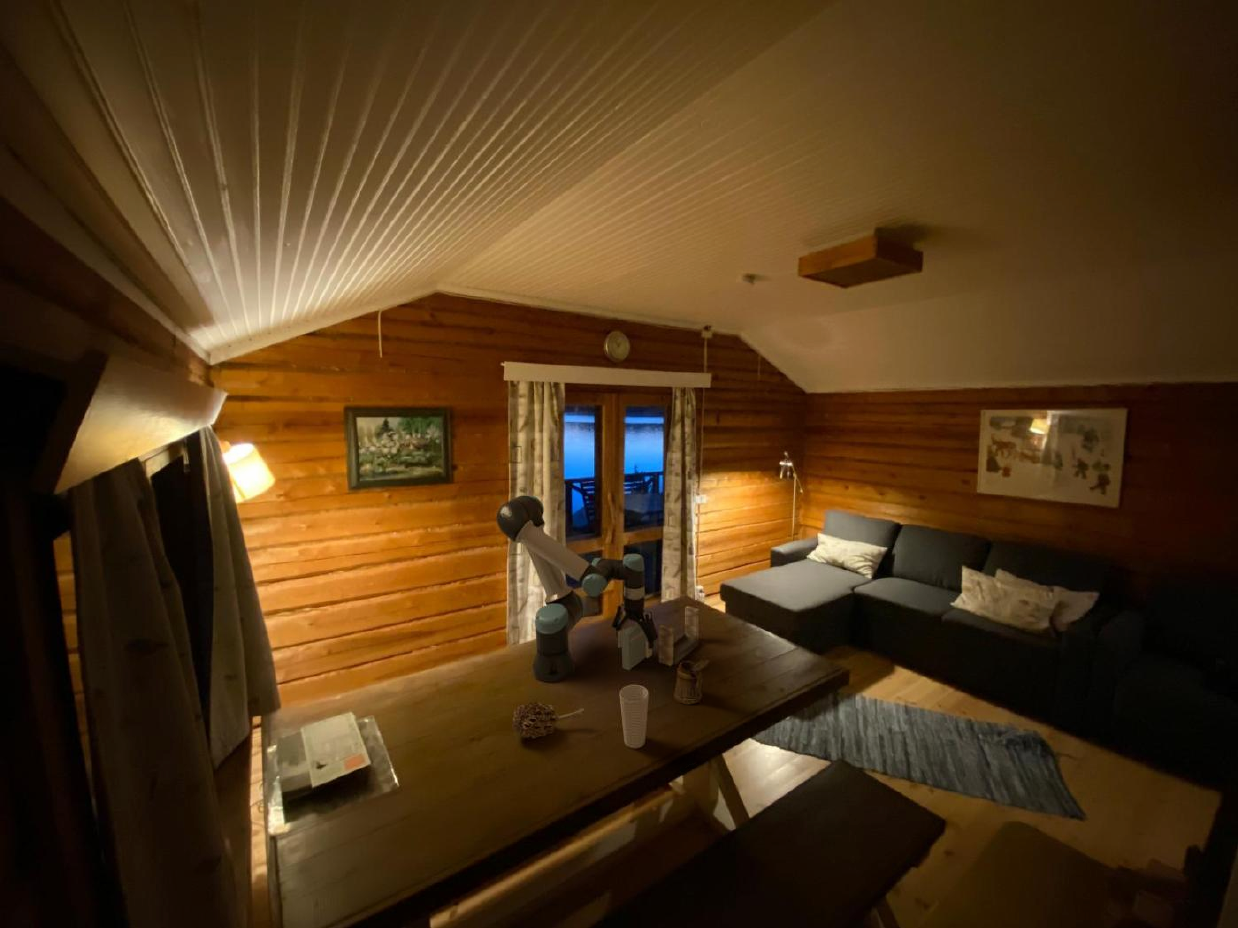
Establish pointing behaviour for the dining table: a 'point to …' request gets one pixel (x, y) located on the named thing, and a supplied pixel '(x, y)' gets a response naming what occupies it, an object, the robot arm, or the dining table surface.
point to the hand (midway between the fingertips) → (634, 650)
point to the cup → (634, 714)
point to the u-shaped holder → (679, 639)
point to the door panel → (633, 646)
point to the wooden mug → (689, 681)
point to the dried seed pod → (538, 719)
